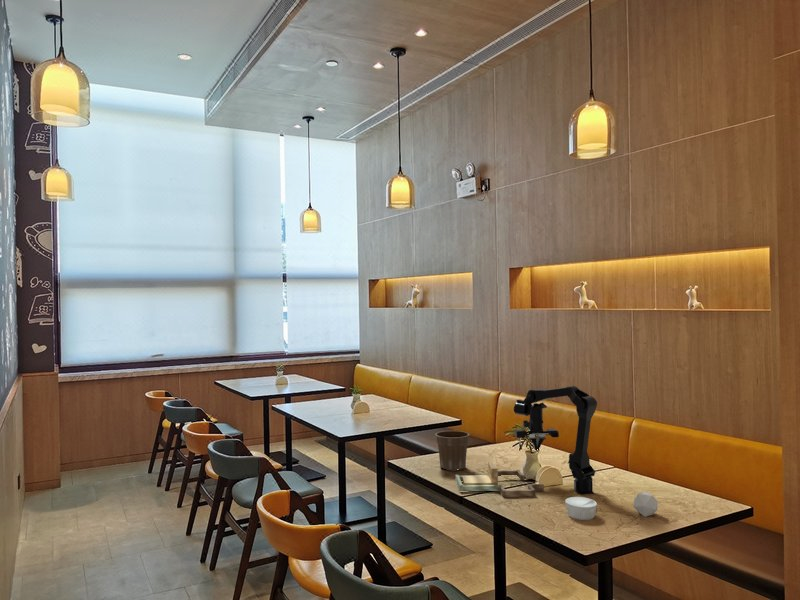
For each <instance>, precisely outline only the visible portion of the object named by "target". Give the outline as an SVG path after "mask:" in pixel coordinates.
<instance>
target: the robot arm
mask: <svg viewBox="0 0 800 600" xmlns="http://www.w3.org/2000/svg"><path fill="white" fill-rule="evenodd" d="M562 397H568V398H569V399H570V402H572V404H573V405H575V407H576V408H575V410H576V413H577V417H578V421H577V431H576V432H577V433H576V440H575V448H574V452H572V453H569V455H568V462H567V464H568V468H569V469H570V472H571V475H572V478H574V480H573V490H574V491H575V492H576V493H577V494H578V495H591V494H592V495H594V494H595V492H594V491H593V477H595V475H596V471H595V469H594V468H593V467H592V465H591V464H590V463H591V462H590V456H589V454H588V446H589V437H590V430H591V422H592V417H593V416H594V414H595V413H596V411H597V406H598V402H597V400H596V398H595V397H593V396H592V395H589V393H586V392H585V391H584V390H581V389H579V388H578V387H577V386H575V385H569V386H566V387H565V386H564V387H559V388H552V389H551V388H550V389H546V388H533V389H530V390H528V391H527V393H526V396H525V398H524V399H520V398H519V399H516V402H515V403H514V407H513V413H514V414H515V415H518V416H519V415H520V416H525V417H529V419H528V420H527V419H526V420H522V427H523V428H515V429H514V430H513V435H514V436H515V438H517V439H525V437H527V436H529V437H527V438H528V440H530V441H531V440H532V441H531V444H532V446H533V450H534V449H535V450H537V449H538V452H539V450H540V448H541V446H542V444H543V442H544V440H547V438H546V436H550V437H551V438H559V437H560V434H559V430H557V429H556V428H547V429H546V430H544V419H543V418H544V417H543V416H544V414H543V413H544V411H543V409H546V408H548V406H547V405H546V404H545V403H544V402H543V401H546V400H549V399H552V398H562ZM527 427H528V428H529V429H530V430H525V429H527ZM526 431H528V432H529V434H527V433H528V432H526ZM514 433H515V434H514ZM536 435H537V436H536ZM535 450H534V451H535Z"/></svg>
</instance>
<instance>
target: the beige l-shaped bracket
mask: <svg viewBox="0 0 800 600" xmlns="http://www.w3.org/2000/svg"><path fill="white" fill-rule="evenodd" d="M497 470H498V467H497V465H496V463H495V462H494V461H493V462H491V461H490V462H488V475H489V476H471V475H461V476H462V481H463V483H462V485H464V486H468V485H499V484H498V482H499V481H498V473H497Z"/></svg>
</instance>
